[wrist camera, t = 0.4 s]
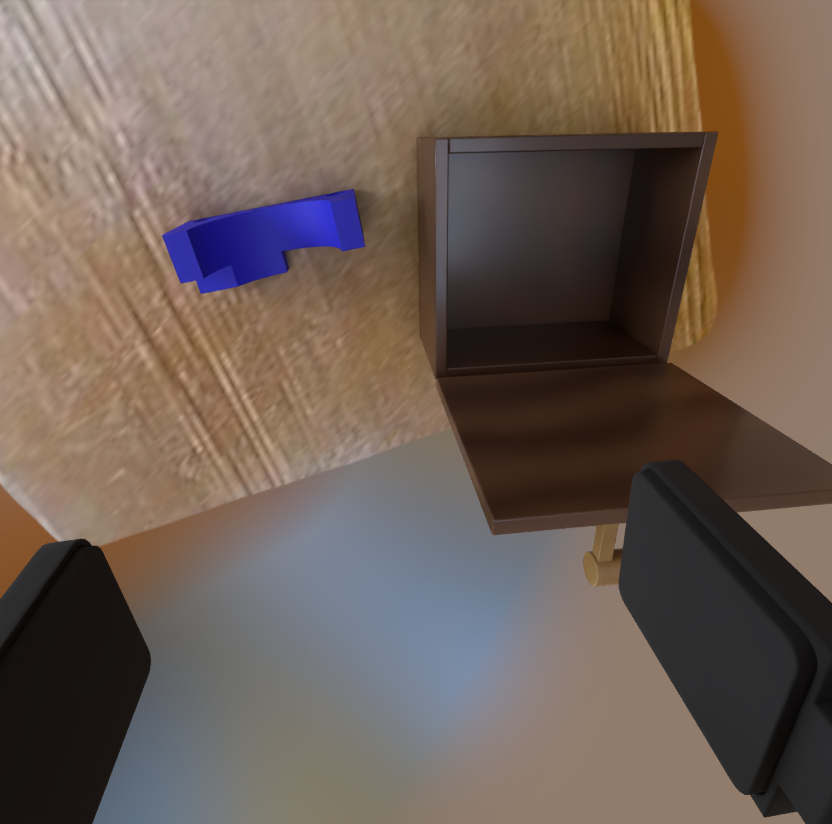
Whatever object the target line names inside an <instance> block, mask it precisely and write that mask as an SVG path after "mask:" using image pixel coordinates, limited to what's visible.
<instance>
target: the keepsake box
mask: <svg viewBox="0 0 832 824" xmlns="http://www.w3.org/2000/svg"><path fill="white" fill-rule="evenodd" d="M717 136H718V132H654V133H605V134H559V135H514V136H468V137H423V138H417V192H418V253H419V314H420V338H421V340H422V343H423V346H424V349H425V352H426V354H427V357H428V360H429V363H430V365H431V368H432V371H433V374H434V377H435V379H437V378H443V377H459V376H474V375H490V374H505V373H521V372H536V371H552V370H567V369H583V368H598V367H614V366H629V365H645V364H660V363H667V361H668V356H669V352H670V347H671V343H672V338H673V334H674V329H675V325H676V320H677V316H678V311H679V307H680V302H681V298H682V293H683V289H684V284H685V280H686V275H687V271H688V266H689V262H690V257H691V253H692V248H693V244H694V239H695V235H696V230H697V226H698V221H699V217H700V212H701V208H702V203H703V199H704V194H705V190H706V185H707V181H708V176H709V172H710V167H711V163H712V158H713V154H714V149H715V144H716V140H717Z"/></svg>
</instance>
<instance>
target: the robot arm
mask: <svg viewBox="0 0 832 824" xmlns="http://www.w3.org/2000/svg"><path fill="white" fill-rule="evenodd" d="M619 590H620V594H621V597H622V599H623V601H624V603H625V605H626V607H627V608H628V610H629V612H630V613H631V615H632V617H633V618H634V620H635V622H636V623H637V625H638V627H639V628H640V630H641V632H642V633H643V635H644V637H645V638H646V640H647V642H648V643H649V645H650V647H651V648H652V650H653V652H654V653H655V655H656V657H657V658H658V660H659V662H660V663H661V665H662V667H663V668H664V670H665V671H666V673H667V675H668V676H669V678H670V680H671V682H672V683H673V685H674V686H675V688H676V690H677V691H678V693H679V695H680V696H681V698H682V700H683V701H684V703H685V705H686V706H687V708H688V709H689V711H690V713H691V715H692V716H693V718H694V720H695V721H696V723H697V725H698V726H699V728H700V730H701V731H702V733H703V734H704V736H705V738H706V739H707V741H708V743H709V745H710V746H711V748H712V750H713V751H714V753H715V755H716V756H717V758H718V760H719V761H720V763H721V765H722V766H723V768H724V770H725V771H726V773H727V775H728V776H729V778H730V780H731V781H732V783H733V784H734V786H735V787H736V788H737V789H738V790H739V791H740V792H741V793H743V794H744V795H749V794H750V795H751V797H752V799H753V800H754V802H755V803H756V805H757V807H758V808H759V810H760V812H761V813H762V815H763V816H764V817H770V816H775V815H780V814H786V813H791V812H798V813H799V815H800V816H801V817H802V819H803V821H804V822H805V824H832V603H831V602H830V601H829V600H828V599H827V598H826V597H825V596H824V595H823V594H822V593H821V592H820V591H819V590H818V589H816V588H815V587H814V586H813V585H812V584H811V583H810V582H809V581H808V580H807V579H806V578H805V577H804V576H803V575H802V574H801V573H800V572H798V570H796V569H795V568H794V567H793V566H792V565H791V564H790V563H789V562H788V561H787V560H786V559H785V558H784V557H783V556H782V555H781V554H780V553H779V552H777V551H776V550H775V549H774V548H773V547H772V546H771V545H770V544H769V543H768V542H767V541H766V540H765V539H764V538H763V537H762V536H761V535H759V533H757V532H756V531H755V530H754V529H753V528H752V527H751V526H750V525H749V524H748V523H747V522H746V521H745V520H744V519H743V518H742V517H740V515H738V514H737V513H736V512H735V511H734V510H733V509H732V508H731V507H730V506H729V505H728V504H727V503H726V502H725V501H724V500H723V499H722V498H721V497H720V496H718V495H717V494H716V493H715V492H714V491H713V490H712V489H711V488H710V487H709V486H708V485H707V484H706V483H705V482H704V481H703V480H702V479H701V478H700V477H698V476H697V475H696V474H695V473H694V472H693V471H692V470H691V469H690V468H689V467H688V466H687V465H686V464H685V463H684V462H682V461H681V460H679V459H671V460H664V461H656V462H649V463H645V464H644V465H643V466H642V468H641V471H640V472H637V473H635V474H634V475H633V479H632V485H631V492H630V499H629V507H628V514H627V522H626V529H625V536H624V545H623V551H622V559H621V566H620V573H619ZM150 665H151V657H150V652H149V649H148V647H147V645H146V643H145V641H144V639H143V637H142V634H141V632H140V630H139V628H138V626H137V624H136V622H135V620H134V618H133V615H132V613H131V611H130V609H129V607H128V605H127V602H126V600H125V598H124V596H123V594H122V592H121V590H120V588H119V585H118V583H117V581H116V579H115V577H114V575H113V573H112V571H111V568H110V566H109V564H108V562H107V560H106V558H105V556H104V553H103V552H102V550H101V549H100V548H99V547H98V546H92V545H91V544H90V542H88V541H87V540H86V539H76V540H69V541H61V542H54V543H48V544H45V545H43V546H42V547H41V548H40V549H39V550H38V551H37V552H36V553H35V555H34V556H33V557H32V559H31V560H30V561H29V563H28V564H27V565H26V566H25V568H24V569H23V570H22V572H21V573H20V574H19V575H18V577H17V578H16V580H15V581H14V582H13V583H12V585H11V586H10V587H9V589H8V590H7V591H6V592H5V594H4V595H3V596H2V598H1V599H0V824H92V823H93V820H94V818H95V815H96V812H97V810H98V807H99V804H100V802H101V799H102V796H103V794H104V791H105V788H106V786H107V783H108V781H109V778H110V775H111V773H112V770H113V767H114V765H115V762H116V759H117V757H118V754H119V752H120V749H121V746H122V744H123V741H124V738H125V736H126V733H127V730H128V728H129V725H130V722H131V719H132V717H133V714H134V712H135V709H136V706H137V704H138V701H139V699H140V696H141V693H142V691H143V688H144V685H145V683H146V680H147V677H148V675H149V671H150Z"/></svg>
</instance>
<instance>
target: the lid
mask: <svg viewBox="0 0 832 824" xmlns="http://www.w3.org/2000/svg"><path fill="white" fill-rule="evenodd" d="M436 384H437V390H438V393H439V395H440V398H441V401H442V403H443V406H444V409H445V411H446V414H447V417H448V419H449V422H450V425H451V427H452V430H453V432H454V435H455V438H456V440H457V443H458V446H459V448H460V451H461V453H462V456H463V459H464V461H465V464H466V467H467V469H468V472H469V475H470V477H471V480H472V483H473V485H474V488H475V491H476V493H477V496H478V498H479V501H480V504H481V506H482V509H483V512H484V514H485V517H486V520H487V522H488V525H489V528H490V530H491V533H492V534H493V535H500V534H511V533H521V532H532V531H543V530H553V529H565V528H575V527H585V526H596V532H595V539H594V545H593V551H591V552H586V553H585V555H584V560H583V564H584V571H585V575H586V578H587V580H588V582H589V583H590V585H592V586H594V587H595V586H605V585H614V584H619V573H620V566H621V559H622V551H623V548H622V549H614V546H615V541H616V536H617V530H618V525H619V523H626V522H627V514H628V507H629V499H630V492H631V485H632V479H633V475H634V474H635V473H637V472H640V471H641V468H642V466H643V465H644V464H645V463H649V462H656V461H664V460H671V459H679V460H681V461H682V462H684V463H685V464H686V465H687V466H688V467H689V468H690V469H691V470H692V471H693V472H694V473H695V474H696V475H697V476H698V477H700V478H701V479H702V480H703V481H704V482H705V483H706V484H707V485H708V486H709V487H710V488H711V489H712V490H713V491H714V492H715V493H716V494H717V495H718V496H720V497H721V498H722V499H723V500H724V501H725V502H726V503H727V504H728V505H729V506H730V507H731V508H732V509H733V510H734V511H735V512H747V511H757V510H768V509H778V508H790V507H800V506H810V505H822V504H832V464H830V463H829V462H827V461H826V460H824V459H823V458H821V457H819V456H818V455H816V454H814V453H813V452H811V451H810V450H808V449H807V448H805V447H804V446H802V445H800V444H799V443H797V442H796V441H794V440H792V439H791V438H789V437H788V436H786V435H784V434H783V433H781V432H780V431H778V430H777V429H775V428H774V427H772V426H770V425H769V424H767V423H766V422H764V421H762V420H761V419H759V418H758V417H756V416H754V415H753V414H751V413H750V412H748V411H747V410H745V409H743V408H742V407H740V406H739V405H737V404H735V403H734V402H732V401H731V400H729V399H728V398H726V397H724V396H723V395H721V394H720V393H718V392H716V391H715V390H713V389H712V388H710V387H709V386H707V385H706V384H704V383H702V382H701V381H699V380H698V379H696V378H694V377H693V376H691V375H690V374H688V373H687V372H685V371H683V370H682V369H680V368H679V367H677V366H675V365H674V364H672V363H660V364H645V365H629V366H614V367H598V368H583V369H567V370H552V371H536V372H521V373H505V374H490V375H474V376H459V377H443V378H437V379H436Z"/></svg>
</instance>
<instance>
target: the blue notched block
mask: <svg viewBox="0 0 832 824" xmlns="http://www.w3.org/2000/svg"><path fill="white" fill-rule="evenodd" d="M162 236H163V239H164V242H165V244H166V247H167V249H168V252H169V254H170V257H171V260H172V262H173V265H174V267H175V270H176V272H177V275H178V278H179V280H180V283H185V282H190V281H195V280H196V282H197V285H198V287H199V290H200V293H201V294H202V293H207V292H212V291H217V290H222V289H227V288H232V287H238V286H240V285H243V284H246V283H249V282H252V281H255V280H258V279H261V278H265V277H269V276H273V275H277V274H281V273H286V272H287V271H288V269H289V265H288V262H287V258H286V255H285V251H287V250H292V249H299V248H307V247H318V246H331V247H337V248H340V249H341V250H342V251H346V250H351V249H356V248H361V247H365V244H364V237H363V231H362V226H361V222H360V217H359V212H358V207H357V203H356V198H355V193H354V189H351V190H346V191H341V192H336V193H331V194H326V195H321V196H315V197H310V198H305V199H300V200H295V201H290V202H285V203H280V204H275V205H270V206H265V207H259V208H254V209H249V210H244V211H239V212H234V213H229V214H224V215H219V216H214V217H208V218H203V219H198V220H193V221H188V222H186V223H185V224H183V225H181V226H179V227H177V228H175V229H173V230H171V231H169V232H167V233H166V234H164V235H162Z"/></svg>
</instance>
